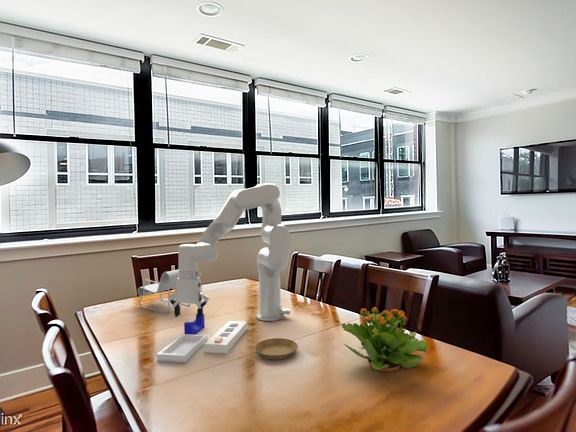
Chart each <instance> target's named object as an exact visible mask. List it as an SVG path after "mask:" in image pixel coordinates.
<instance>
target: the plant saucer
mask: <svg viewBox="0 0 576 432" xmlns="http://www.w3.org/2000/svg"><path fill="white" fill-rule="evenodd" d="M297 349H298V344H297V342H296V341H294V340H292V339H288V338H281V337H276V338H267V339H264V340H261V341H259V342H257V343H256V344H255V347H254V350H255V351H256V352H257V353H258V354H259V355H260V357H262V358H264V359H267V360H273V361H274V360H275V361H278V360H283V359H284V360H285V359H286V358H289V357H290V356H292V355H294V353H295V352H296V351H297Z"/></svg>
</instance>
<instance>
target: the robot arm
mask: <svg viewBox="0 0 576 432" xmlns="http://www.w3.org/2000/svg"><path fill="white" fill-rule="evenodd" d="M280 193H281V192H280V189H279V186H277V184H274V183H272V182H269V183H259V184H256V185H255V186H253V187H249V188H243V189H242V188H241V189H236V190H234V191H232V192H231V193H230V194H229V196H228V197H227V200H226V202H225V203H224V205H223V206H222V207H221V208H220V209H221V210H220V211H219V213H218V214H217V216H216V217H215V219H213V221H212V222H211V223H210V224H209V225H208V226H207V227H206V228H205V230H204V232H203V233H202V234H201V236H200V237H199V239H198V240H197V242H196V244H194V243H183V244H180V245H179V247H178V269H179V278H177V282H176V288H175V291H174V292H172V293H170V294H169V296H168V295H167V297H168V298H169V301H170V302H171V303H170V302H169V303H170V304H171V305H172V307H173V308H174V309H173V310H174V311H173V314H174V317H175V318H177V317H179V316H181V305H180V303H181V304H187V305H189V304H190V305H191V304H193V305H196V306H197V308H196V309H197V310H196V311H197V312H196V314H197V318H198V319H199V318H201V317H202V315H203V313H204V307H205V306H206V305H207V304H208V301H209V299H210V297H209V296H208V295H206V294H204V292H203V287H202V281H201V277H200V276H202V272H200V271H199V262H200V263H203V262H204V263H212V262H214V261H215V260H217V258H218V257H219V249H218V247H217V246H216V245H217V243H218V242H219V241H220V240H221V238H222V237H223V236H224V235H226V234H227V233H229V232H230V231H232V230H233V229H234V228H235V227H236V225H237V223H238V222H239V220H240V218H241V216H242V214H243V213H244V212H245V210H252V209H256V208H259V207H260V208H261V210H262V220H261V221H262V222H261V233H260V236H261V237H260V238H261V241H263V242H264V243H265V244H268V245H269V246H266V247H262V248H261V249H260V250H259V251H258V253H257V255H256V266H257V270H258V292H259V293H258V294H259V312H257V313H256V319H257V320H259V321H265V322H274V321H280V320H282V319H283V318H284V317H285V315H291V309H290V308H284V307H283V305H281V301H282V300H281V275H280V272H282V271H283V270H285V269H286V267H287V266H288V264H289V259H290V247H291V233H290V230H289V229H288V227H287V226H286V225H284V224H282V208H281V204H280V202H279V197H280V195H281V194H280ZM173 296H175V299H173ZM168 298H167V299H168Z"/></svg>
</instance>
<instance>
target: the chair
mask: <svg viewBox="0 0 576 432" xmlns="http://www.w3.org/2000/svg"><path fill="white" fill-rule="evenodd" d="M177 278H179V268H178V269H174V270H170V271H164V272H162V274H161V276H160V280H159V281H154V280H150V279H146V278H144V279H143V280H142V286H140V287H138V288H137V295H138V296H139V297H140V298H139V300H138V306H139V307H140V308H142V309H147V310H151V311H155V312H160V313H165V314H169V313H170V304H171V302H170V300H169V298H167V299H168V300H165V299H163V298H162V295H163V293H164V292H165V291H167V297H168V296H169V295H170V290H172V289H176V282H177ZM145 281H147V282H151V284H148V285H145ZM160 292H161V293H160ZM158 293H160V295H159V298H160V299H159V300H161V302H165V303H166V302H167V305H168V306H167V308H168V310H167V311H166V310H161V309H156V308H153V307H152V308H151V307H146V306H142V304H141V300H142V298H143V297H144V296H147V295H152V294H158ZM173 299H174V300H175V296H173ZM179 305H180V306H187V307H190V306H191V304H187V303H180V304H179Z"/></svg>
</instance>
